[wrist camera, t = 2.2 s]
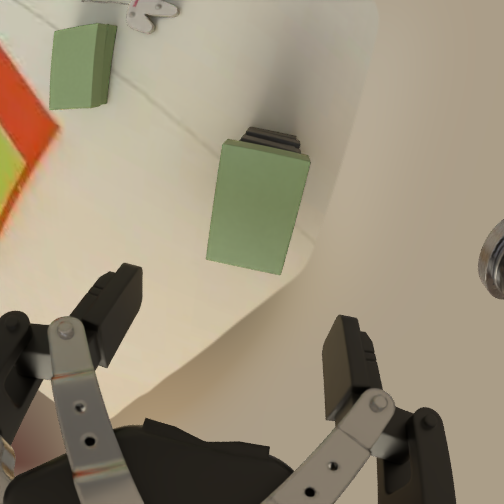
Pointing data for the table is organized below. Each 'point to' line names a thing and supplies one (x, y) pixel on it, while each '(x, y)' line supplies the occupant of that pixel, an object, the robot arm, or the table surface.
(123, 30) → the table surface
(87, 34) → the green stack
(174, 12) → the game controller
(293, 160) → the sage book
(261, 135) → the grey stack
